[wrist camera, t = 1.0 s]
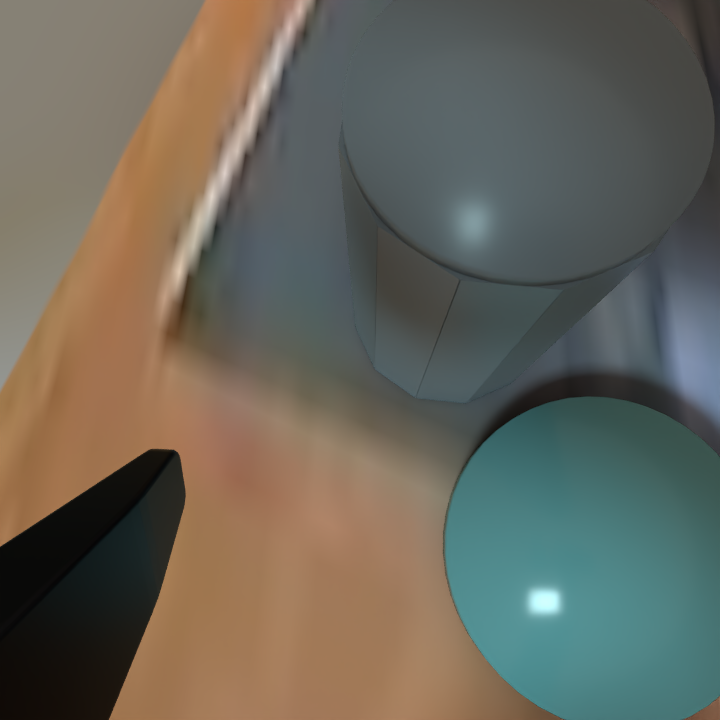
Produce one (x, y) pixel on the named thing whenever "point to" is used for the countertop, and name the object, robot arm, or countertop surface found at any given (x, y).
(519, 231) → the grey faceted cylinder
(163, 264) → the countertop surface
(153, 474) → the robot arm
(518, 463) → the dish
